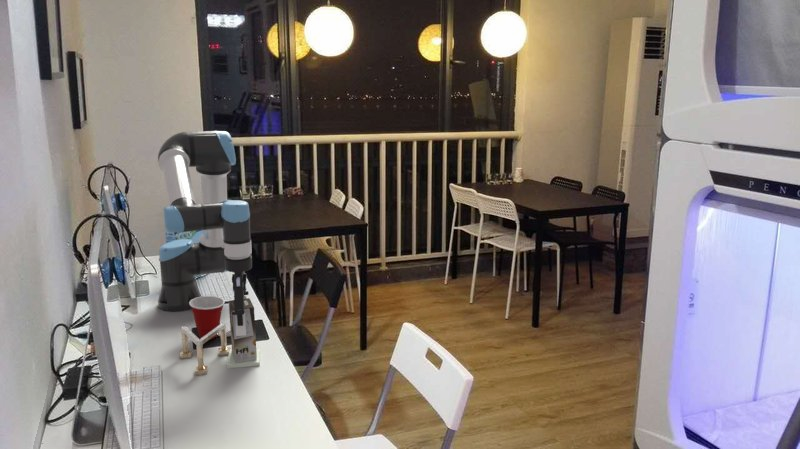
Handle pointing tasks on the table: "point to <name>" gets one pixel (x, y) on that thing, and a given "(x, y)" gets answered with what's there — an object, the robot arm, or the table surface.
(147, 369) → the table surface
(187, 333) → the three-legged tripod stand
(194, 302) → the plastic cup
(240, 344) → the coffee box
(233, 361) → the end plate
